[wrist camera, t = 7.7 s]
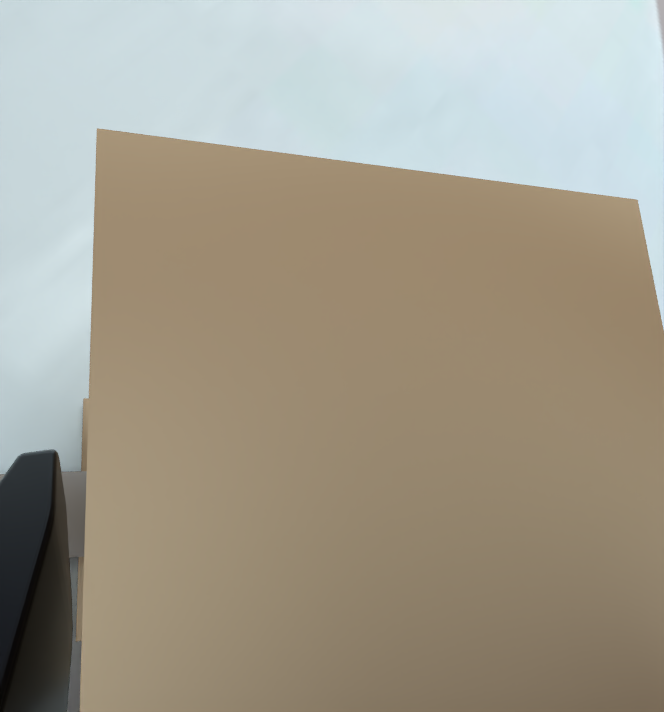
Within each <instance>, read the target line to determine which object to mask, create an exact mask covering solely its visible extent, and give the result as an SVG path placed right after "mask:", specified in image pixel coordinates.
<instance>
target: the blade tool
mask: <svg viewBox="0 0 664 712" xmlns="http://www.w3.org/2000/svg"><path fill="white" fill-rule="evenodd" d="M61 474H62V480H63V487H64V494H65V501H66V510H67V526H68V543H69V558H73V557H78V588H77V620H76V641H82V647H81V680H80V712H664V330H663V325H662V320H661V315H660V310H659V305H658V300H657V295H656V290H655V285H654V280H653V275H652V270H651V265H650V260H649V255H648V250H647V245H646V240H645V235H644V230H643V225H642V220H641V215H640V210H639V205H638V200H635V199H627V198H620V197H612V196H605V195H597V194H589V193H582V192H574V191H567V190H559V189H552V188H544V187H536V186H529V185H521V184H514V183H506V182H499V181H491V180H483V179H476V178H468V177H461V176H453V175H446V174H438V173H430V172H423V171H415V170H408V169H400V168H393V167H385V166H378V165H370V164H362V163H355V162H347V161H340V160H332V159H325V158H317V157H309V156H302V155H294V154H287V153H279V152H272V151H264V150H256V149H249V148H241V147H234V146H226V145H219V144H211V143H203V142H196V141H188V140H181V139H173V138H166V137H158V136H150V135H143V134H135V133H128V132H120V131H113V130H105V129H97V142H96V176H95V209H94V243H93V277H92V310H91V344H90V378H89V399H84V400H83V431H82V462H81V471H76V472H61ZM4 475H5V474H0V481H1V479H2V478H3V477H4Z"/></svg>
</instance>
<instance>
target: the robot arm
mask: <svg viewBox="0 0 664 712" xmlns="http://www.w3.org/2000/svg"><path fill="white" fill-rule="evenodd" d="M72 631H73V621H72V596H71V578H70V561H69V543H68V526H67V510H66V501H65V494H64V487H63V480H62V474H61V467H60V460H59V456H58V453H57V452H56V451H55V450H43V451H36V452H28V453H23V454H21V455H20V456H18V457H17V459H16V460H15V461H14V463H13V464H12V466H11V467H10V468H9V470H8V471H7V472H6V474H5V475H4V477H3V478H2V479H1V481H0V712H67V704H68V691H69V678H70V665H71V651H72Z"/></svg>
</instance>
